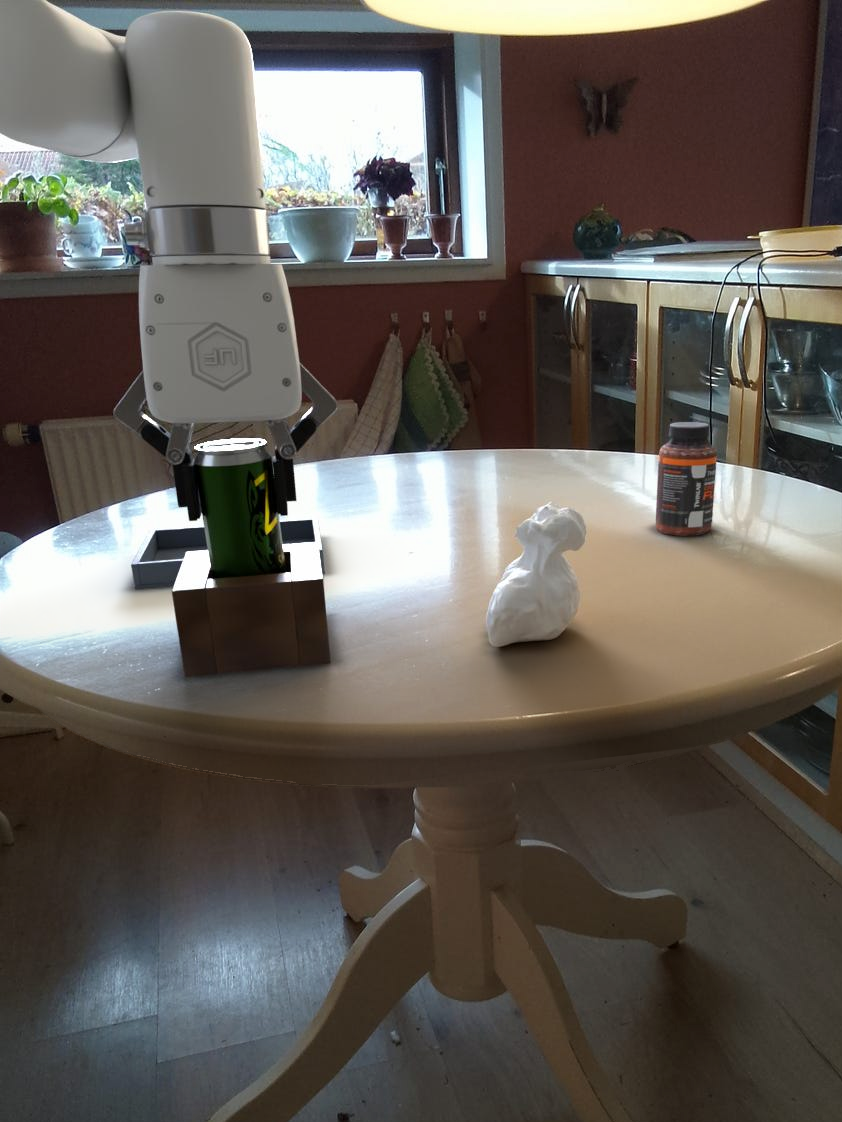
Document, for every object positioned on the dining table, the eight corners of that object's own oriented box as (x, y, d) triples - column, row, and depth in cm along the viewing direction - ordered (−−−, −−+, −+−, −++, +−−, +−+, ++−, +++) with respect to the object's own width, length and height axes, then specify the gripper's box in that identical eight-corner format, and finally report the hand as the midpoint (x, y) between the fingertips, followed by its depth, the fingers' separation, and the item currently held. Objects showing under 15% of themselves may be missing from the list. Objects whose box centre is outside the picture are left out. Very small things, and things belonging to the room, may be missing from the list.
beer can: (212, 620, 67) (185, 453, 62) (221, 596, 72) (197, 440, 67) (287, 613, 67) (266, 448, 63) (292, 591, 72) (272, 436, 68)
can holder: (184, 678, 65) (171, 591, 63) (197, 629, 74) (185, 551, 72) (331, 664, 67) (323, 578, 64) (325, 618, 76) (318, 541, 74)
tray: (135, 590, 84) (130, 564, 83) (153, 552, 96) (150, 529, 96) (324, 575, 87) (322, 549, 86) (319, 540, 99) (317, 517, 99)
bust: (512, 690, 67) (608, 581, 61) (433, 621, 67) (521, 507, 62) (560, 634, 77) (645, 536, 72) (491, 575, 78) (571, 473, 72)
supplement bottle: (712, 539, 96) (719, 428, 92) (653, 537, 97) (658, 428, 93) (711, 525, 101) (718, 420, 97) (656, 523, 102) (660, 419, 98)
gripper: (57, 240, 55) (106, 534, 62) (346, 238, 58) (362, 519, 65) (82, 245, 62) (123, 509, 69) (339, 243, 65) (355, 496, 72)
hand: (239, 511), depth 67 cm, fingers closed on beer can, 5 cm apart
